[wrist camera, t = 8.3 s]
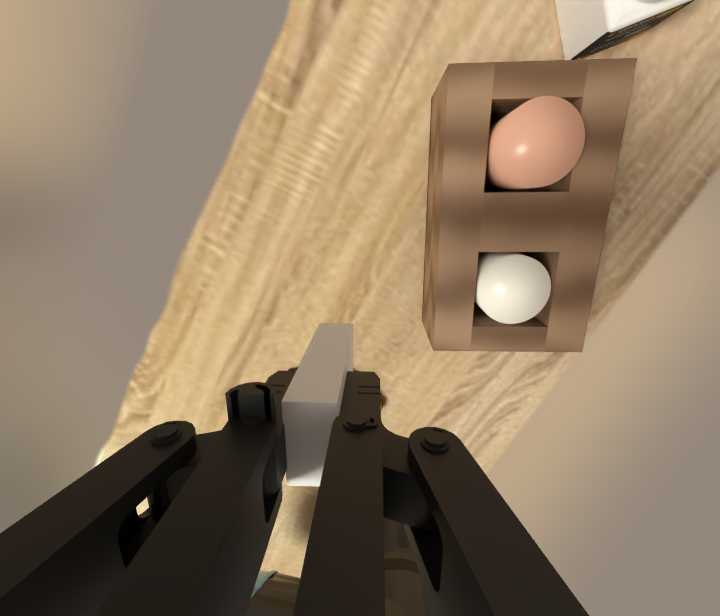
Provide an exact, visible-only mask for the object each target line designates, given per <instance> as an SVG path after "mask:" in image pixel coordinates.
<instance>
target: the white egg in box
mask: <svg viewBox="0 0 720 616" xmlns="http://www.w3.org/2000/svg"><path fill="white" fill-rule="evenodd" d="M550 291H551V281H550V276H549V274H548V272H547V270H546V268H545V267H544V266H543V265H542V264H541V263H540V262H538V261H537V260H535V259H533V258H531V257H528V256H525V255H522V254H519V253H516V252H479V254H478V265H477V277H476V288H475V300H474V302H475V303H476V304H477V305H478V306H479V307H480V308H481V309H482V310H483V311H484V312H485V313H486V314H487V315H488V316H489V317H491V318H492V319H494V320H496V321H498V322H501V323H505V324H516V323H521V322H524V321H527V320H529V319H531V318H533V317H534V316H535V315H537V314H538V313H539V312H540V311H541V310H542V309H543V307H544V306H545V304H546V303H547V301H548V298H549V296H550Z"/></svg>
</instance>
